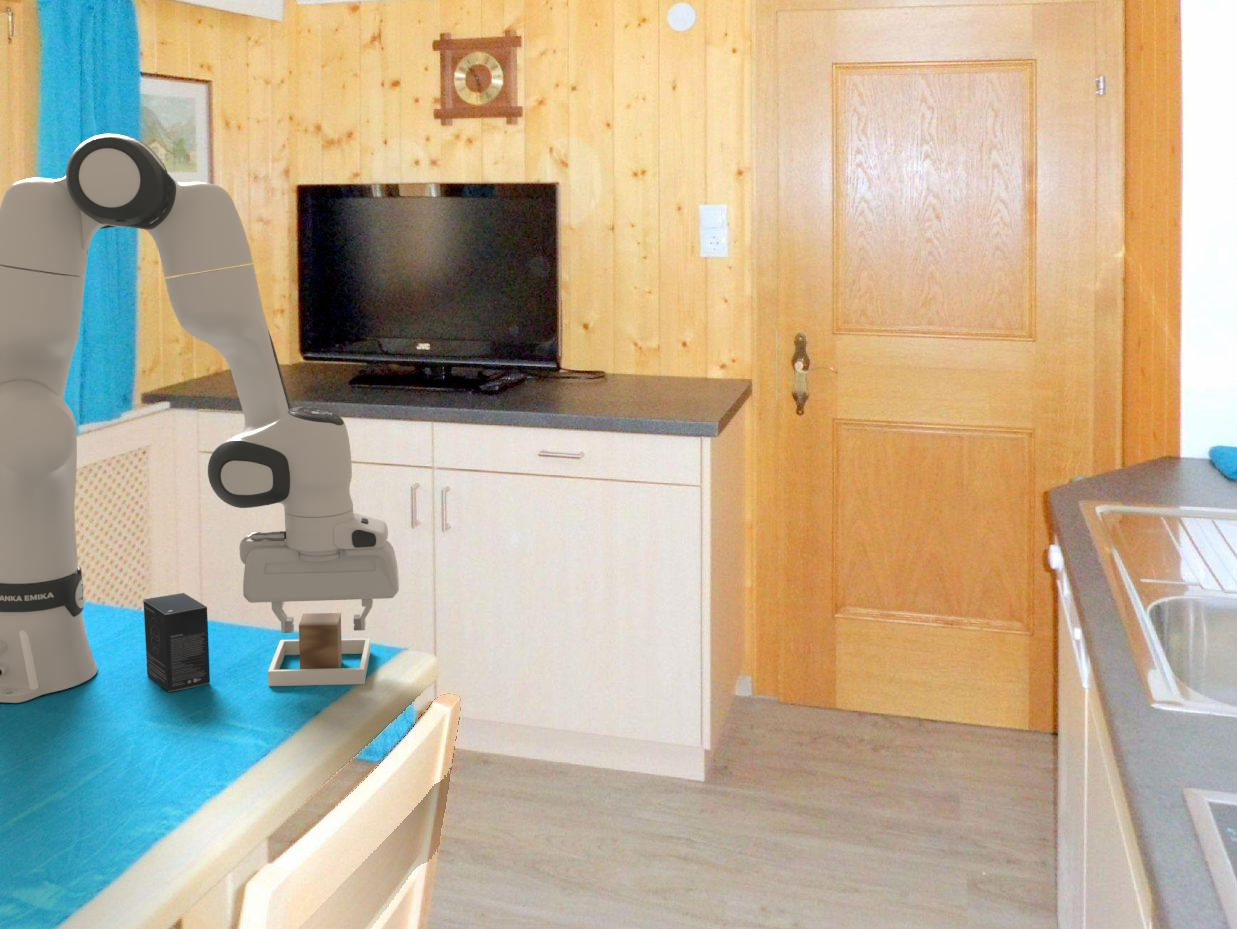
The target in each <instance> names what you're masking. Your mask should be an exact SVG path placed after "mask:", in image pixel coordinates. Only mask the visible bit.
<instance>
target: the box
mask: <svg viewBox="0 0 1237 929" xmlns="http://www.w3.org/2000/svg"><path fill="white" fill-rule="evenodd" d="M143 617H144V636H145V655H146V674H147V676H148V677H149V678H151V679H152V680H153V681H154V682H156V683H157V684H158V685H159V686H161V687H162V688H163V689H165V690H166V691H167V692H170V693H171V692H175V691H176V692H177V691H181V690H187V689H191V688H197V687H201V686H206V685H209V684H210V683H211V672H210V647H209V624H208V623H209V622H208V606H206V605H204V604H203V603H201V602H199V601H198V600H197V599H195V598H193V597H191V596H190V595H188V594H186V593H185V592H181V593H176V594H170V595H169V594H168V595H164V596H162V595H161V596H157V597H156V596H155V597H150V598H145V599H143Z"/></svg>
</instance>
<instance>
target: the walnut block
mask: <svg viewBox="0 0 1237 929" xmlns="http://www.w3.org/2000/svg"><path fill="white" fill-rule="evenodd" d="M341 639H342V613H341V612H329V613H328V612H327V613H325V612H322V613H320V612H319V613H316V612H315V613H312V612H311V613H302V615H301V619H300V621H299V624H298V640H299V653H300V655H299V669H337V668H341V667H342V662H343V656H342V655H343V654H342V645H341Z"/></svg>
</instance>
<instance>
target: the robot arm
mask: <svg viewBox="0 0 1237 929" xmlns="http://www.w3.org/2000/svg"><path fill="white" fill-rule="evenodd" d="M3 196H4V197H3V198H2V201H1V205H0V703H7V704H8V703H9V704H11V703H12V704H18V703H25V702H27V701H30V700H32V699H35V698H38V697H41V696H42V695H46V694H50V693H55V692H58V691H59V692H60V691H63V690H67V689H69V688H73V687H76V686H79V685H81V684H83V683H85V682H87V681H89V680H90V679H92V678H93V677H94V676H95V675H96V674H97V673H98V670H99V668H98V665H97V662H96V660H95V657H94V654H93V652H92V649H91V646H90V641H89V638H88V633H87V630H86V624H85V618H84V611H83V610H84V607H85V583H84V580H83V573H82V567H80V565H78V563H79V562H78V548H77V547H78V546H77V531H76V515H75V513H76V512H75V510H76V509H75V504H76V503H75V500H76V489H77V488H76V487H77V486H76V485H77V468H78V467H77V465H78V464H77V460H78V458H77V457H78V456H77V455H78V454H77V453H78V452H77V451H78V449H77V448H78V447H77V446H78V445H77V444H78V442H77V441H78V440H77V438H78V437H77V435H78V434H77V432H78V430H77V423H76V422H77V421H76V419H75V415H74V413H73V411H72V409H71V408H70V407H69V404H68V403H67V402H65V392H66V388H67V382H68V378H69V373H70V368H71V365H72V360H73V356H74V352H75V350H76V346H77V344H78V341H79V339H80V329H81V322H82V312H83V305H84V302H83V301H84V293H85V288H86V287H85V286H86V285H85V284H86V276H87V270H88V269H87V268H88V260H89V259H88V257H89V251H90V247H91V244H92V240H93V238H94V236H95V235H96V233H97V232H98V231H99V230H102V229H110V228H118V227H119V228H135V229H140V230H145V231H146V232H147V233H148V234H149V235H150V236H151V238H152V239H153V242H154V243H155V245H156V247H157V251H158V254H159V258H160V261H161V267H162V272H163V275H164V280H165V285H166V286H165V287H166V291H167V294H168V298H169V301H170V305H171V307H172V309H173V312H174V315H175V316H176V319H177V321H178V323H179V325H180V326H181V327H182V329H183V330H185V332H187V333H188V334H190V335H191V336H192V337H194V338H195V339H197V340H200V341H202V342H204V343H206V344H208V345H210V346H211V347H213V348H214V349H215V350H216V351H217V352H219V354H221V355H222V357H223V358H224V359H225V361H226V363H227V364H228V367H229V369H230V371H231V375H232V379H233V381H234V382H233V383H234V385H235V389H236V393H237V397H238V399H239V400H238V401H239V403H240V406H241V410H242V413H243V416H244V426H243V430H242V432H239V433H238V434H236V435H233V436H232V437H230V438H228V439H227V440H225V441H224V442H222V443H221V444H220V445H218V446H217V447H216V448H215V449H214V451H213V452H212V453H211V456H210V457H209V459H208V464H207V477H208V481H209V484H210V486H211V489H212V490H213V492H214V493H215V494H216V496H217V497H218V498H219V499H220V500H221V501H222V502H224V503H226V504H227V505H229V506H231V507H234V508H238V509H251V508H258V507H264V506H270V505H275V504H281V505H282V506H283V509H284V529H285V531H284V530H283V531H281V530H280V531H269V532H268V531H267V532H262V531H255V532H254V531H253V532H251V533H250V535H247V536H245V537H243V539H242V540H241V541H240V542H239V559H240V561H241V563H242V564H244V568H243V569H244V570H243V582H242V583H243V584H242V591H243V593H242V594H243V597H244V598H245V599H246V600H247V602H248V603H253V604H254V603H255V604H256V603H271V611H272V612H273V614H274V616H276V617H277V619H278V620H279V622H280V625H281V626H280V628H281V629H280V630H281V634H288V633H289V634H290V633H294V630H295V624H294V621H295V620H294V616H288V615H287V614H286V612H285V610H284V608H283V607H284V605H285V602H286V603H287V602H288V603H289V602H313V601H314V602H315V601H317V602H319V601H346V600H347V601H349V600H350V601H352V600H353V601H354V600H360V601H361V606H362V607H363V608H362V610H361V612H360V614H354V615H353V631H365V630H366V618H367V616H369V613H370V611H371V610H372V608H373V604H374V600H380V599H381V600H382V599H393V598H395V596H397V594H398V592H399V591H400V581H399V580H400V578H399V570H398V569H399V568H398V563H397V558H396V557H397V556H396V553H395V550H394V547H393V546H392V543H391V542H389V540H388V535H389V530H388V525H387V523H386V522H385V521H383V520H381V519H378V518H374V517H369V516H367V515H363V514H359V513H355V512H354V503H353V500H352V498H351V497H352V496H351V493H350V487H351V486H350V485H351V482H352V479H353V471H352V470H353V466H352V455H351V454H352V453H351V445H350V438H349V433H348V429H347V426H346V425H347V424H346V423H345V421H344V419H343V418H342V417H341V416H339V415H338V414H336V413H334V412H333V411H331V410H327V409H325V408H319V407H314V406H313V407H312V406H306V407H305V406H297V407H293V408H292V405H291V402H290V398H289V395H288V392H287V388H286V383H285V381H284V377H283V375H282V370H281V367H280V362H279V359H278V356H277V352H276V348H275V346H274V342H273V339H272V335H271V332H270V330H269V326H268V323H267V320H266V316H265V312H264V309H263V306H262V305H263V304H262V300H261V294H260V290H259V284H258V281H257V274H256V270H255V266H254V261H253V256H252V252H251V248H250V245H249V241H248V238H247V234H246V232H245V228H244V226H243V223H242V220H241V218H240V215H239V212H238V209H237V208H236V204H235V203H234V199H233V198H232V196H231V195H230V194H229V192H228V191H227V190H225V189H224V188H222V187H221V186H219V185H216V184H214V183H211V182H210V183H209V182H204V181H189V182H180V181H177V180H175V179H174V178H172V176H171V175H170V174H169V173H168V170H167V168H166V166H165V164H164V163H163V161H162V159H161V158H160V157H159V155H158V154H157V153H156V151H155V150H153V149H152V148H151V147H150V146H148V144H146V143H145V142H143V141H141V140H139V139H138V138H135V137H132V136H128V135H124V134H123V135H121V134H117V133H103V134H98V135H94V136H92V137H90V138H88V139H86V140H84V141H83V142H81V143H80V144H79V145H78V146H77V147H76V148H75V149H74V151H73V152H72V154H71V156H70V157H69V160H68V163H67V166H66V171H65V176H64V177H62V178H57V179H56V178H55V179H54V178H45V177H31V178H30V177H29V178H26V179H22V180H19V181H16V182H13V184H11V185H10V186H9V187H8V189H7V190H6V192H5V193H4V195H3Z"/></svg>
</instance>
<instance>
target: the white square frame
mask: <svg viewBox="0 0 1237 929" xmlns="http://www.w3.org/2000/svg"><path fill="white" fill-rule="evenodd" d="M341 645H342V655H354V654H355V655H356V654H357V655H361V654H362V655H361V660H360V665H359V667H350V668H348V667H347V668H343V667H342V668H337V669H300V668H299V669H298V668H295V669H293V668H291V669H288V668H287V669H281V666H282V663H283V661H284V658H285V656H298V655H299V656H300V653H299V639H280V640H279V643H278V645H277V648H276V650H275V652H274V655H273V657H272V660H271V663H270V666H269V668H268V670H267V677H268V678H267V679H268V681H267V684H268V687H289V686H290V687H292V686H296V687H299V686H326V685H327V686H331V685H332V686H333V685H334V686H337V685H338V686H339V685H343V686H344V685H365V683H366V677H367V672H368V666H369V661H370V656H371V637H370V638H369V637H367V638H366V637H365V638H363V637H362V638H341Z"/></svg>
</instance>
